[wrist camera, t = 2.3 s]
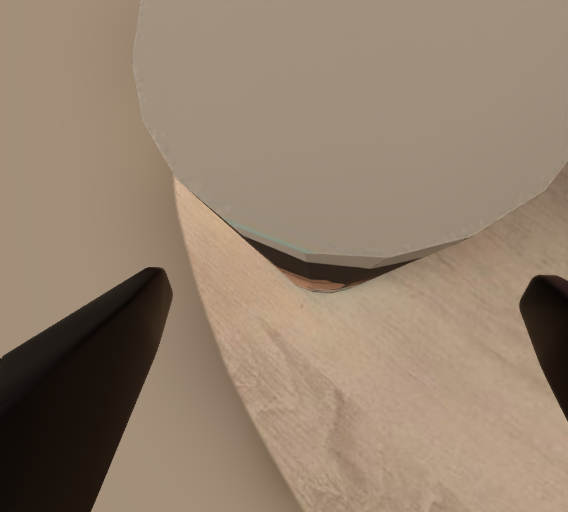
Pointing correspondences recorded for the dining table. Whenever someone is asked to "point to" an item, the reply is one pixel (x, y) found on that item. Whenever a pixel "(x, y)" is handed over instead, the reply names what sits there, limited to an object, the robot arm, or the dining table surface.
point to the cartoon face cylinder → (356, 121)
